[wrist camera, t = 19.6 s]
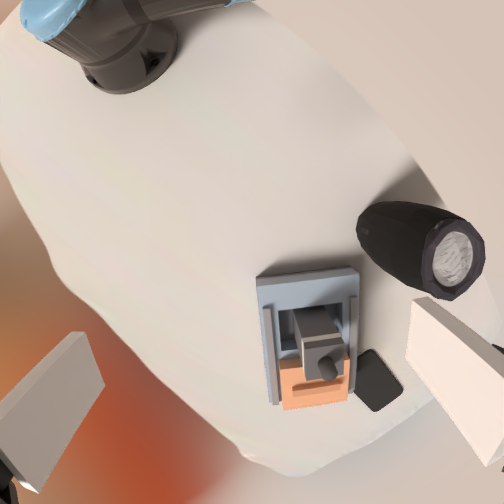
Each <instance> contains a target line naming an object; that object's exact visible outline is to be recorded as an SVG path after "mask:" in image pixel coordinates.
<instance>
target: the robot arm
mask: <svg viewBox="0 0 504 504" xmlns="http://www.w3.org/2000/svg"><path fill="white" fill-rule="evenodd" d="M248 1H254V0H23V1H22V4H21V8H20V20H21V23H22V25H23V27H24V28H25V29H26V30H27V31H29V32H30V33H32V34H33V35H34V36H35V37H36V38H37V40H40V41H42V42H44V43H46V44H48V45H50V46H51V47H53V48H55V49H57V50H59V51H60V52H62V53H64V54H66V55H67V56H69V57H71V58H73V59H74V60H76V61H78V62H79V63H80V65H81V67H82V69H83V71H84V73H85V76H86V77H87V79H88V80H89V81H90V83H91V84H93V85H94V86H95V87H97V88H99V89H100V90H102V91H104V92H107V93H110V94H127V93H131V92H135V91H137V90H140V89H142V88H144V87H146V86H147V85H149V84H151V83H152V82H153V81H155V80H156V79H157V78H158V77H159V76H160V75H161V74H162V73H163V72H164V71H165V70H166V69H167V67H168V66H169V65H170V63H171V61H172V60H173V58H174V55H175V53H176V49H177V43H178V38H177V33H176V30H175V28H174V26H173V24H172V22H171V20H170V19H169V18H170V17H173V16H177V15H181V14H186V13H190V12H194V11H199V10H204V9H209V8H214V7H220V6H223V7H229V6H231V5H233V4H236V3H242V2H248ZM405 359H406V360H407V362H408V363H409V364H410V365H411V367H412V368H413V369H414V370H415V372H416V373H417V374H418V375H419V377H420V378H421V379H422V381H423V382H424V383H425V385H426V386H427V387H428V388H429V390H430V391H431V392H432V394H433V395H434V396H435V398H436V399H437V400H438V402H439V403H440V404H441V406H442V407H443V408H444V410H445V411H446V412H447V414H448V415H449V416H450V418H451V419H452V420H453V422H454V423H455V424H456V426H457V427H458V429H459V430H460V431H461V433H462V434H463V435H464V437H465V438H466V440H467V441H468V443H469V444H470V445H471V447H472V448H473V449H474V451H475V453H476V454H477V456H478V457H479V458H480V460H481V461H482V463H483V464H484V466H485V467H487V466H488V465H490V464H492V463H493V462H495V461H496V460H498V459H500V458H501V457H503V456H504V348H502V347H499V346H497V345H494V344H492V345H491V344H490V343H488V342H487V341H486V340H485V339H483V338H482V337H481V336H480V335H478V334H477V333H476V332H474V331H473V330H472V329H471V328H469V327H468V326H467V325H465V324H464V323H463V322H461V321H460V320H459V319H457V318H456V317H455V316H453V315H452V314H451V313H449V312H448V311H447V310H445V309H444V308H443V307H441V306H440V305H439V304H437V303H436V302H434V301H433V300H432V299H430V298H429V297H423V298H418V299H413V300H412V306H411V317H410V326H409V335H408V342H407V350H406V357H405ZM104 386H105V384H104V381H103V379H102V376H101V374H100V371H99V369H98V366H97V364H96V361H95V359H94V356H93V353H92V351H91V348H90V345H89V342H88V339H87V336H86V333H85V332H71V333H70V334H69V335H67V336H66V338H64V339H63V340H62V341H61V342H60V343H59V344H58V345H57V346H56V347H55V348H54V349H53V350H52V351H50V352H49V353H48V354H47V355H46V356H45V357H44V358H43V359H42V360H41V361H40V362H39V363H38V364H37V365H36V366H35V367H34V368H33V369H32V370H31V371H30V372H29V373H28V374H27V375H26V376H25V377H24V378H23V379H22V380H21V381H20V382H19V383H18V384H17V385H16V386H15V387H14V388H13V389H12V390H11V391H10V392H9V393H8V394H7V395H6V396H5V397H4V398H3V399H2V400H1V401H0V504H19V502H18V497H17V491H16V487H15V485H14V483H13V482H12V481H11V479H12V478H13V476H14V477H15V478H16V479H17V480H18V481H19V482H20V483H21V484H22V485H23V487H25V488H28V489H30V490H32V491H34V492H36V493H38V494H39V493H40V491H41V489H42V488H43V485H44V484H45V482H46V481H47V479H48V477H49V475H50V474H51V472H52V470H53V468H54V467H55V465H56V463H57V462H58V460H59V458H60V457H61V455H62V453H63V452H64V450H65V448H66V446H67V445H68V443H69V442H70V440H71V439H72V437H73V435H74V433H75V432H76V430H77V429H78V427H79V426H80V424H81V422H82V421H83V419H84V418H85V416H86V414H87V413H88V411H89V410H90V408H91V407H92V405H93V404H94V402H95V400H96V399H97V397H98V396H99V394H100V392H101V391H102V389H103V388H104ZM502 472H504V467H503V469H502Z"/></svg>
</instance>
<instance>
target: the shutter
mask: <svg viewBox="0 0 504 504" xmlns="http://www.w3.org/2000/svg"><path fill="white" fill-rule="evenodd" d="M349 369H350V358H349V356H348V355H347V353H346V351H345V354H344V375H340V376H337V377H336V378H335V379H334V380H332V381H325V380H323V379H316V380H310V381H306V378H305V374H304V372H303V366H302V362H301V359H300V358H293V359H285V360H279V371H280V383H281V395H282V404H283V410H289V409H297V408H305V407H311V406H318V405H324V404H330V403H335V402H341V401H346V400H347V396H348V384H349Z"/></svg>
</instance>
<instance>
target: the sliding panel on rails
mask: <svg viewBox="0 0 504 504" xmlns="http://www.w3.org/2000/svg"><path fill="white" fill-rule="evenodd" d="M256 289H257V298H258V306H259V315H260V324H261V333H262V341H263V350H264V359H265V368H266V376H267V385H268V394H269V402H273V405H279V401H282V395H281V383H280V371H279V360H285V359H293V358H300V355H299V351H298V347H297V344H296V340H295V336H294V328H293V313H292V309H295V308H303V307H311V306H319V305H324V307H325V309H326V310H327V312H328V314H329V316H330V317H331V319H332V321H333V323H334V325H335V326H336V328H337V330H338V332H339V333H340V334H341V336H342V339H343V341H344V343H345V351H346V353H347V355H348V356H349V358H350V369H349V384H348V394H350V393H353V390H354V389H355V380H356V368H357V353H358V333H359V273H358V272H357V271H356V270H354V269H353V268H352V267H351V266H347V267H340V268H332V269H323V270H315V271H307V272H298V273H290V274H281V275H272V276H263V277H256Z"/></svg>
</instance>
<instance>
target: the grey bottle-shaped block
mask: <svg viewBox="0 0 504 504" xmlns="http://www.w3.org/2000/svg"><path fill="white" fill-rule="evenodd" d="M292 313H293V328H294V336H295V340H296V344H297V347H298V351H299V355H300V359H301V362H302V366H303V372H304V374H305V378H306V381H310V380H316V379H323V380H325V381H332V380H334V379H335V378H336V377H337V376H340V375H344V354H345V343H344V341H343V339H342V336H341V334H340V333H339V332H338V330H337V328H336V326H335V325H334V323H333V321H332V319H331V317H330V316H329V314H328V312H327V310H326V309H325V307H324V305H319V306H311V307H303V308H295V309H292Z"/></svg>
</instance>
